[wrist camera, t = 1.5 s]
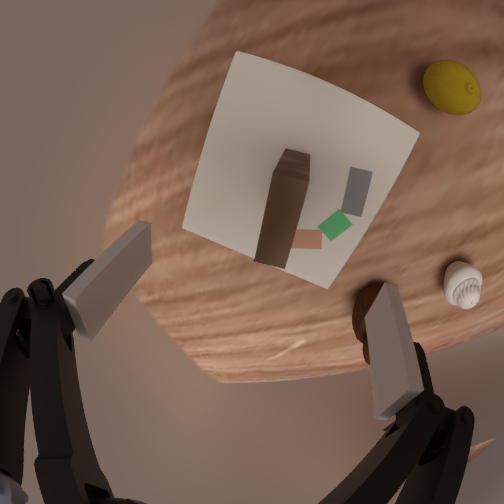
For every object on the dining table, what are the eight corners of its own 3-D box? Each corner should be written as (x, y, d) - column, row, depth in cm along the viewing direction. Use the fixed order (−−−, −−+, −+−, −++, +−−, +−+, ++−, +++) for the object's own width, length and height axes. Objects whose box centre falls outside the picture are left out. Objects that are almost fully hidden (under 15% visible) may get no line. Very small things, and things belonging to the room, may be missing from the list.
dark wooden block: (310, 151, 25) (309, 182, 17) (282, 258, 33) (268, 321, 24) (286, 145, 26) (272, 172, 17) (262, 253, 33) (242, 314, 24)
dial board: (415, 131, 23) (420, 133, 22) (327, 282, 35) (327, 289, 34) (240, 52, 22) (236, 50, 21) (186, 222, 35) (181, 228, 34)
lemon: (417, 111, 22) (451, 119, 15) (407, 62, 19) (438, 53, 12) (458, 112, 20) (497, 121, 13) (450, 64, 17) (488, 60, 11)
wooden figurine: (382, 268, 32) (405, 364, 20) (403, 293, 34) (426, 384, 21) (342, 296, 36) (346, 391, 24) (365, 317, 37) (373, 407, 25)
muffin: (440, 294, 32) (454, 328, 27) (432, 263, 30) (449, 297, 25) (473, 276, 30) (492, 308, 24) (468, 244, 28) (491, 275, 22)
